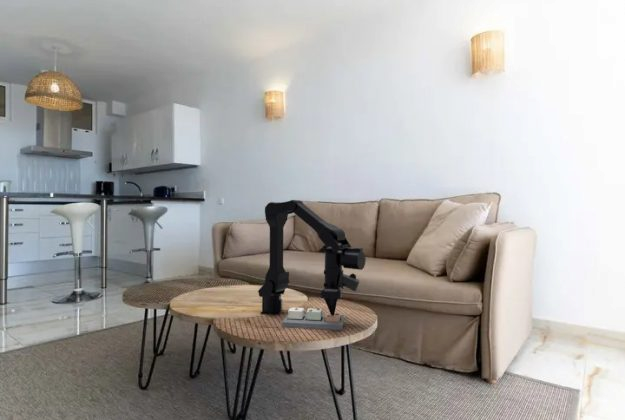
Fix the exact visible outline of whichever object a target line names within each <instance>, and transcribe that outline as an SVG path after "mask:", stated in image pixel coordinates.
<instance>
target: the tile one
mask: <svg viewBox="0 0 625 420" xmlns="http://www.w3.org/2000/svg"><path fill="white" fill-rule="evenodd" d="M304 313H305V308H304V307H293V306H292V307H289V309H288V314H287V315H288V319H302V318H303V317H304Z"/></svg>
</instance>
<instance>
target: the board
mask: <svg viewBox="0 0 625 420" xmlns="http://www.w3.org/2000/svg"><path fill="white" fill-rule="evenodd" d="M325 316H326V313H322V318H321V320H307V312H304V317H303V318H302V319H288V314H287V315H286V316H285V318H284V319H283V320H282V321H281V327H282V328H292V329H293V328H295V329H314V330H333V331H335V330H336V331H343V328H344V322H345V314H340V322H327V321H325Z"/></svg>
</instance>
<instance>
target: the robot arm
mask: <svg viewBox="0 0 625 420" xmlns="http://www.w3.org/2000/svg"><path fill="white" fill-rule="evenodd" d="M291 214H294V215H296V216H297V217H298V218H299V219H301V221H303V222H304V223H305V224H306V225H308V226H309V227H310V228H311V229H312V230H314V232H315V233H316V235H317V236H318V238H319V239H320V241H321V242H322V243H323V244H324V245H323V246H322V248H320V249H319V250H318V252H319V253H323V254H324V270H323V274H324V275H323V276H324V279H323V288H322V289H321V291H320V298H321V299H324V301H325V303H326V306H327V309H328V311H329V313H330V314H331V315H334V314H336V309H337V303H338V300H340V299H342V296H343V291H342V290H344V288H346V289H349V290H351V291H353V292H357V290H358V286H359V284H360V280H359V278H357V274H356V273H353V272H352V273H350V274H349V275H347V274H345V273H344V269H350V270H358V271H359V270H360V271H362V270H363V269H364V268H365V266H366V255H365V253H364V252H363V251H364V250H363V247H352V245H351V244H350V242H349V241H348V239H347V238H346V232H345V231H344V230H343V229H342V228H340V227H338V226H336V225H335V224H331V223H330V222H327V221H326V220H325V219H323V218H322V217H321V216H319V215H318V214H317V213H316V212H315V211H314V210H312V209H311V208H310V207H308V206H307V205H306V204H304V202H303V201H302V200H300V199H290V200H288V201H284V202H283V201H282V202H280V201H279V202H273V201H271V202H269V203H267V204H266V205H265V207H264V216H265V217H264V218H265V221H266V223H267V224H268V227H269V266H268V270H267V271H266V274H265V277H264V283H263V285H262V286H261V287H260V288H259V289H258V290H257V294H258V296H259V297H260V298H262V300H261V311H260V315H276V316H277V315H278V316H279V315H280V313H281V312H282V311H283V298H282V295H284V294H285V291H286V289H287V288H288V287H289V284H290V272H289V271H286V270H285V268H284V228H285V225H286V223H287V221H288V219H289V218H288V217H289V215H291Z"/></svg>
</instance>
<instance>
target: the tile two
mask: <svg viewBox="0 0 625 420" xmlns="http://www.w3.org/2000/svg"><path fill="white" fill-rule="evenodd" d="M306 313H307V320H321V318H322V314H323V308H309V307H308V309H307V311H306Z"/></svg>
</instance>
